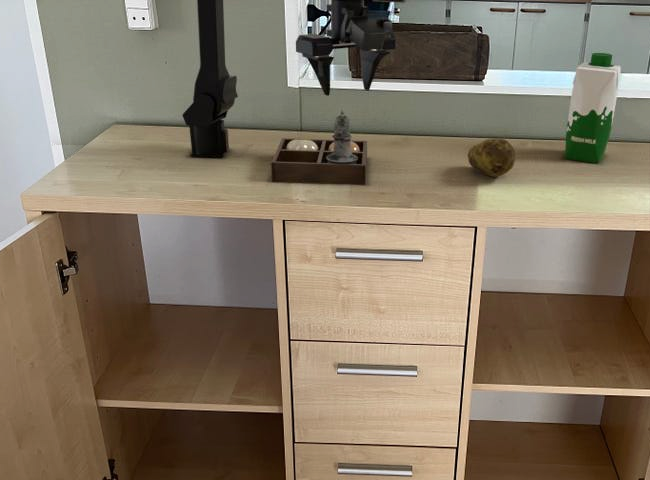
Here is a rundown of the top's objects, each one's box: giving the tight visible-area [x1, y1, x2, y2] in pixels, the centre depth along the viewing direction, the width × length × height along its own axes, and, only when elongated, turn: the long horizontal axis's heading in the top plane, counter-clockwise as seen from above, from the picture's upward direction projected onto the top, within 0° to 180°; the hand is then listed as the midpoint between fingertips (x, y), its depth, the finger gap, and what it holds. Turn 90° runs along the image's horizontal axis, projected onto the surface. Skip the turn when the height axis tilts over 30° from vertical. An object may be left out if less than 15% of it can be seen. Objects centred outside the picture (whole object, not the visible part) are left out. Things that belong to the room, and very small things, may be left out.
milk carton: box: [564, 52, 622, 164], centre depth 154 cm, size 9×9×20 cm
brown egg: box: [328, 140, 360, 152], centre depth 148 cm, size 6×4×4 cm
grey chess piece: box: [326, 110, 358, 164], centre depth 139 cm, size 6×6×12 cm
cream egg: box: [286, 140, 319, 151], centre depth 147 cm, size 6×4×4 cm
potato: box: [467, 137, 517, 178], centre depth 143 cm, size 8×13×8 cm, turn 179°
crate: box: [270, 137, 368, 185], centre depth 144 cm, size 17×17×4 cm
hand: (347, 92), depth 140 cm, fingers open, 9 cm apart
